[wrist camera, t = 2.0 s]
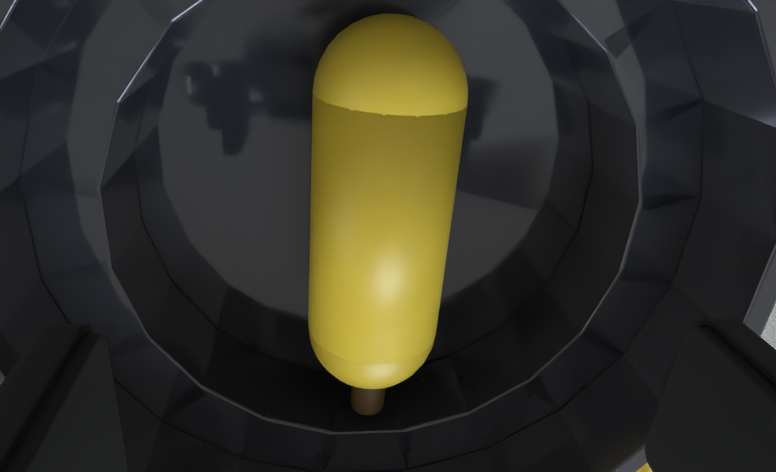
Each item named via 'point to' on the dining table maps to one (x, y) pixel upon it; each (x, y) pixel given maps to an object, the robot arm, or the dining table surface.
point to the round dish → (466, 240)
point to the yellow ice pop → (382, 199)
